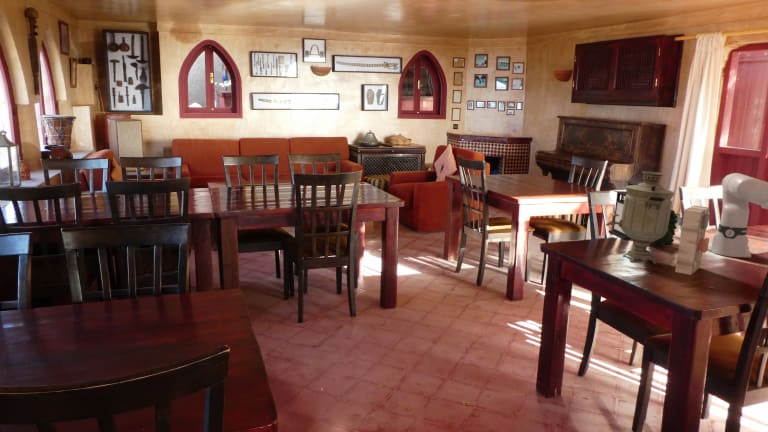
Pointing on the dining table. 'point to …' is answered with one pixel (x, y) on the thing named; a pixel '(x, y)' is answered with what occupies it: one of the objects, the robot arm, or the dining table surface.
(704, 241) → the terracotta plug
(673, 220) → the toy figurine
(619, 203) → the lantern
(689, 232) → the block
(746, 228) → the robot arm
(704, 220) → the charcoal plug
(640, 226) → the samovar
